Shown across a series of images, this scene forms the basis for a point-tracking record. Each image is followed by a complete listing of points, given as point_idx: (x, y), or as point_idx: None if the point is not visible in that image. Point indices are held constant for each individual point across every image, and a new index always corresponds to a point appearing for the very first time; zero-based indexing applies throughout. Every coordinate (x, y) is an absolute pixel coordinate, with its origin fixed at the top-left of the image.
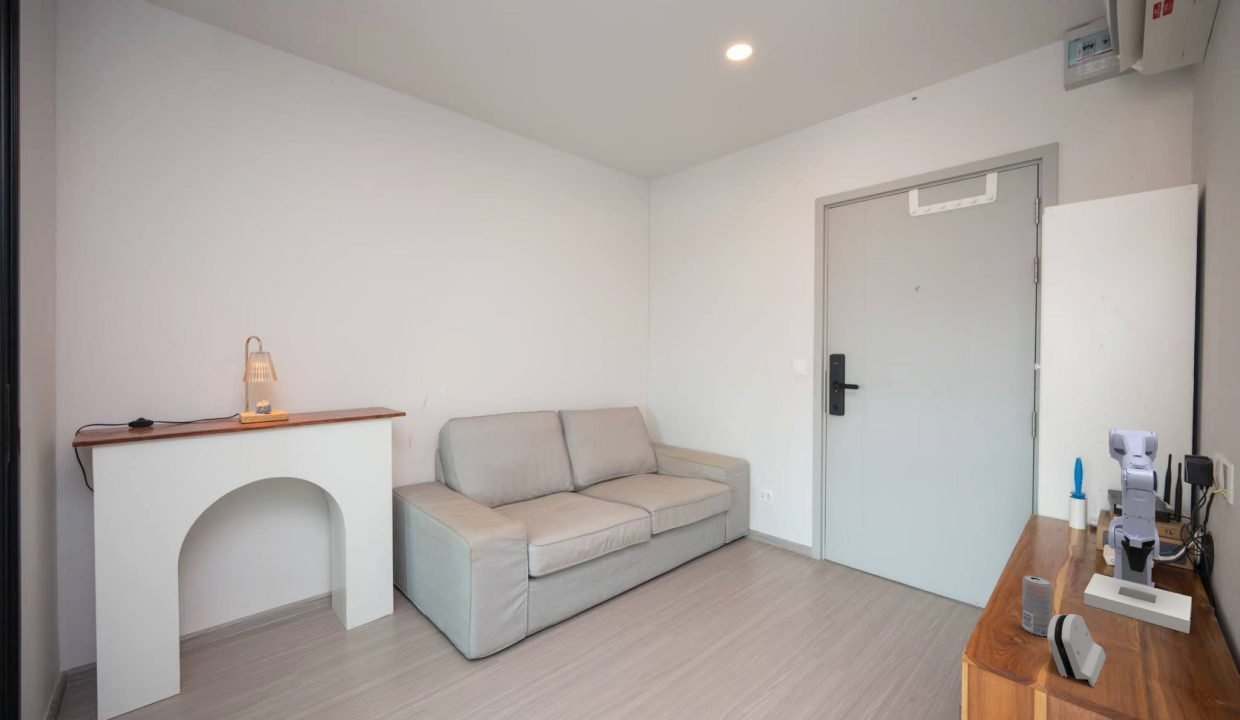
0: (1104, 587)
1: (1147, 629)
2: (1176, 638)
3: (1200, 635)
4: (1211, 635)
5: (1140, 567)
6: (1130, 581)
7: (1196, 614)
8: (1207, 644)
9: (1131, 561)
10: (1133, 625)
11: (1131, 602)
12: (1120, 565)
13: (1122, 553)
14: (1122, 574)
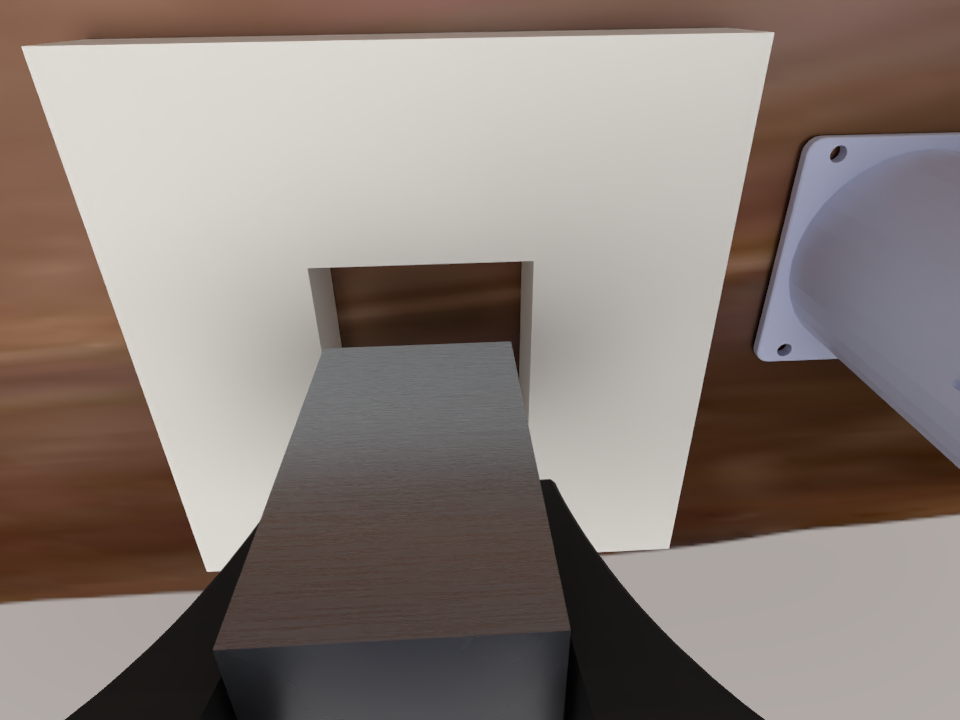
0: (374, 169)
1: (62, 394)
2: (94, 487)
3: None
4: None
5: None
6: (814, 275)
7: None
8: (170, 562)
9: None
10: (36, 340)
11: (196, 354)
12: (942, 251)
13: (247, 575)
14: (315, 379)
